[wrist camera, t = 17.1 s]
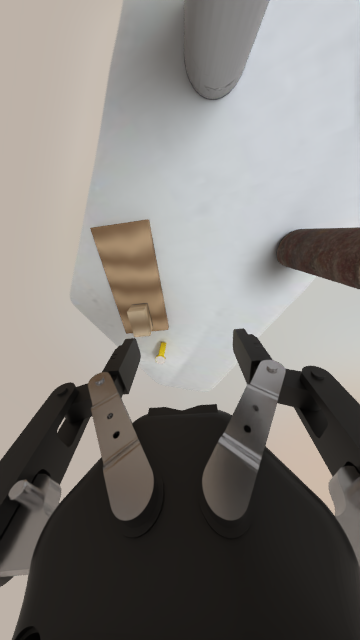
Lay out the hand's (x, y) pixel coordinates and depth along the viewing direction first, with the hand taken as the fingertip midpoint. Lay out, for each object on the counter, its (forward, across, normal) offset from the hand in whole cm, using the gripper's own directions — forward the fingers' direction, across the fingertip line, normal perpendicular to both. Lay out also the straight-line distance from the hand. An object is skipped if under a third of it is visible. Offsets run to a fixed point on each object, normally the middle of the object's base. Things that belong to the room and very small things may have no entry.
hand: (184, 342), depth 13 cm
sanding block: (+27, +12, +10) cm, 31 cm away
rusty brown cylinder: (+28, -24, -2) cm, 37 cm away
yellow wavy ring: (+28, +9, +22) cm, 37 cm away
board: (+28, +12, +2) cm, 31 cm away
